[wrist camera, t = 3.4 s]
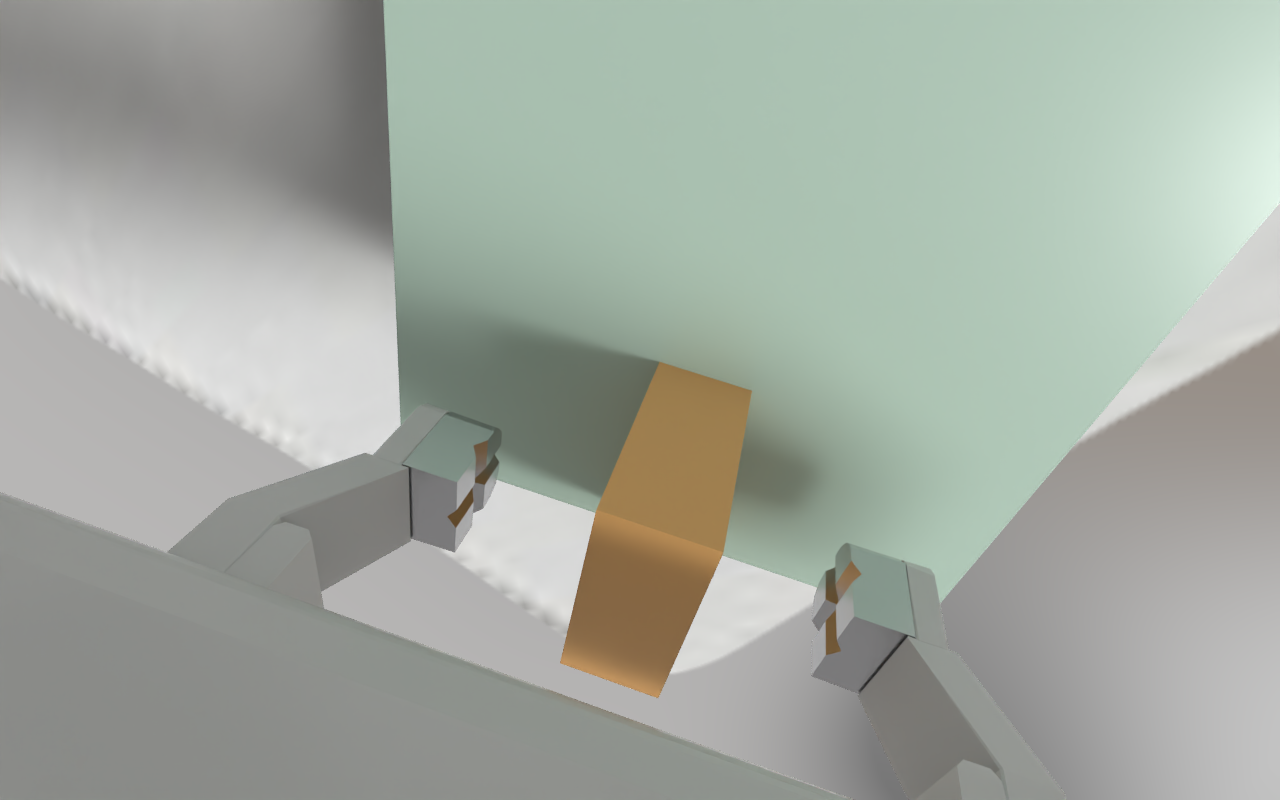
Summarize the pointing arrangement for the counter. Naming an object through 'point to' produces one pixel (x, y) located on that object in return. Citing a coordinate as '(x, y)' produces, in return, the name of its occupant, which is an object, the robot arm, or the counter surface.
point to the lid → (804, 261)
